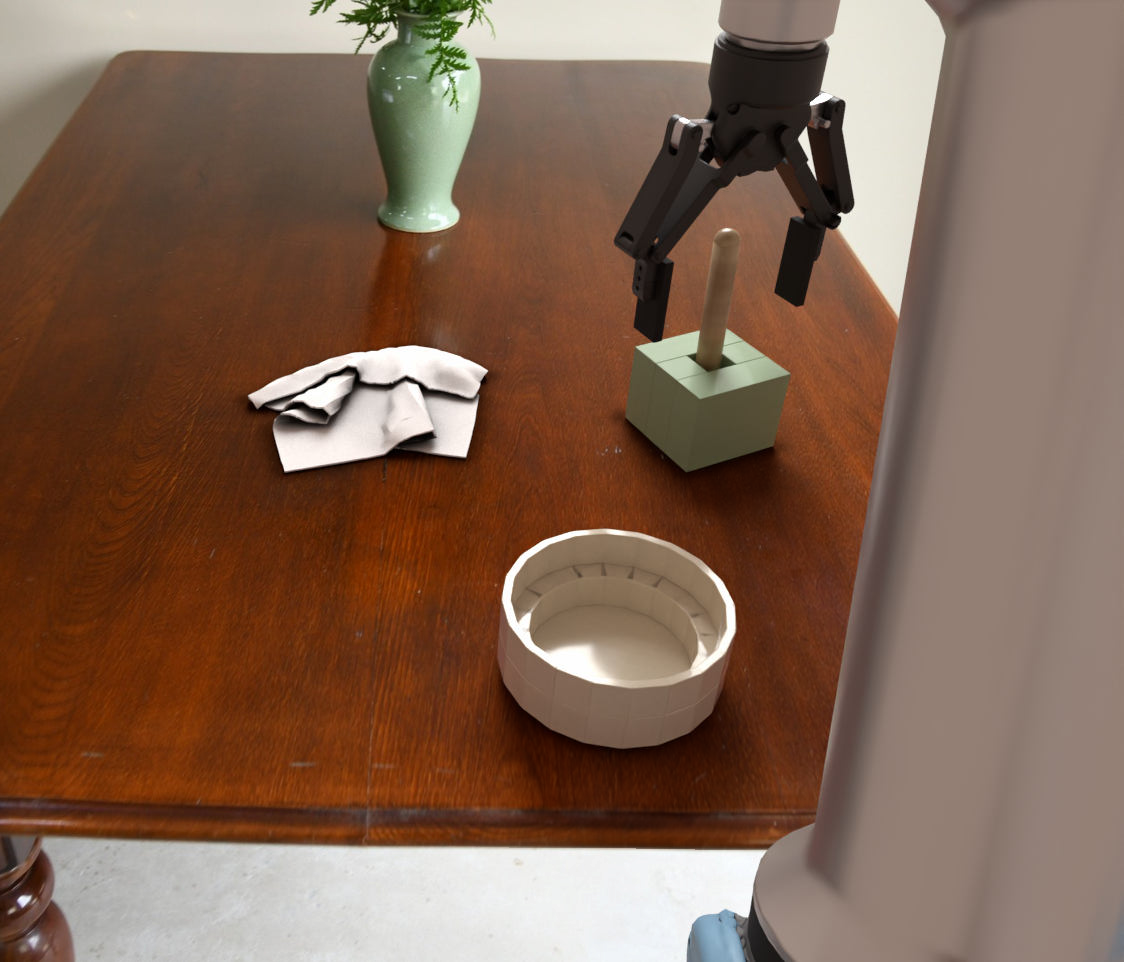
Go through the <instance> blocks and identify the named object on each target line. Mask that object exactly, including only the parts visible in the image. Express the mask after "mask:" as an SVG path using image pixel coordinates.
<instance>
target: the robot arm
mask: <svg viewBox="0 0 1124 962" xmlns="http://www.w3.org/2000/svg"><path fill="white" fill-rule="evenodd" d="M924 1H925V3H926V4H927V5H928V7H930V9H931V10H932V11H933V13H934V14H935V15H936V16H937V17H938V20H939V23H940V25H941V28H942V30H943V33H944V35H945V39H944V45H943V50H942V56H941V62H940V69H939V74H938V82H937V85H936V93H935V99H934V104H933V111H932V117H931V123H930V128H929V135H928V141H927V146H926V153H925V158H924V165H923V171H922V177H921V183H920V189H919V195H918V201H917V207H916V213H915V219H914V225H913V230H912V237H911V243H910V249H909V254H908V262H907V268H906V272H905V278H904V284H903V291H902V296H901V297H902V298H901V304H900V308H899V313H898V314H899V315H898V321H897V327H896V333H895V340H894V345H893V351H892V357H891V364H890V368H889V369H890V370H889V374H888V380H887V388H886V392H885V399H884V406H883V411H882V417H881V422H880V429H879V435H878V440H877V441H878V443H877V448H876V453H875V458H874V465H873V471H872V478H871V483H870V489H869V495H868V500H867V501H868V502H867V508H866V512H865V519H864V524H863V525H864V526H863V532H862V537H861V543H860V548H859V549H860V550H859V554H858V555H859V556H858V562H857V567H856V572H855V573H856V574H855V578H854V579H855V580H854V585H853V591H852V597H851V603H850V609H849V615H848V621H847V628H846V634H845V639H844V646H843V651H842V657H841V663H840V669H839V676H838V681H837V688H836V693H835V700H834V705H833V712H832V718H831V725H830V730H829V736H828V741H827V748H826V752H825V753H826V754H825V755H826V756H825V759H824V766H823V772H822V778H821V784H820V790H819V795H818V802H817V808H816V814H815V820H814V822H813V823H811V824H809V825H806V826H803V827H800V828H798V829H796V830H794V831H791V832H789V833H788V834H786V835H784V836H783V837H780V838H779V839H777V840H776V841H775V842H774V843H773V844H771V846H770V847H769V848H767V849H766V851H765V852H764V854H763V855H762V856H761V858H760V861H759V864H758V867H757V869H756V873H755V876H754V880H753V883H752V894H751V900H750V907H749V913H748V916H743V915H741V914H738V913H737V912H734V911H732V910H729V909H727V908H724V909H723V910H721V911H720V912H718V913H708V914H707V913H706V914H703V915H700V916H698V917H697V918H696V919H695V920H694V921H693V923H692V924H691V927H690V929H691V930H690V932H689V934H688V938H687V943H686V944H687V945H686V962H1124V0H924ZM840 5H841V0H721V1H720V7H719V13H718V20H717V23H718V25H719V28H720V29H721V30H722V31H721V32H720V33H719V34H718V35H717V36H716V37H715V38H714V43H713V49H712V55H711V61H710V68H709V72H708V78H707V79H708V80H707V86H708V90H709V95H710V105H709V108H708V110H707V112H706V115H705V116H704V118H696V119H688V118H686V117H684V116H683V115H681V114H677V113H676V114H673V115H671V117H670V118H669V119H668V121H667V123H666V128H665V129H666V130H665V132H664V137H663V141H662V145H661V149H660V151H659V152H658V154H657V156H656V157H655V159H654V162H653V163H652V165H651V167H650V169H649V171H648V173H647V175H646V176H645V179H644V181H643V182H642V185H641V186H640V188H639V189H638V192H637V194H636V196H635V198H634V199H633V202H632V203H631V206H630V208H629V209H628V211H627V213H626V215H625V217H624V219H623V220H622V222H621V224H620V227H619V228H618V230H617V232H616V234H615V236H614V237H613V244H614V247H616V248H617V249H619V250H620V251H622V252H623V253H624V254H626V255H627V256H629V257H630V258H631V259H633V260H635V262H634V269H633V277H632V282H631V283H632V285H631V289H632V290H631V291H632V294H633V295H634V296H635V297H637V298H636V305H635V313H634V319H633V326H632V327H633V328H634V329H635V330H636V331H638V333H640V334H641V335H643V336H644V337H645V338H647V339H648V340H649V341H650V342H651V343H652V342H653V343H656V342H660V341H662V340H663V337H664V329H665V323H666V318H667V313H668V312H667V311H668V304H669V299H670V291H671V288H672V287H671V286H672V279H673V273H674V266H675V261H673V259H670V258H669V257H668V256H669V254H670V253H671V252H672V250H673V249H674V248H675V247H676V245H677V244H678V242H679V241H680V240H681V239H682V238H683V236H684V235H685V234H686V233H687V231H688V230H689V229H690V227H691V226H692V225H693V224H694V222H695V221H696V220H697V218H698V217H699V216H700V215H701V213H702V212H703V211H704V210H705V209H706V207H707V206H708V205H709V203H710V202H711V201H712V200H713V198H714V197H715V196H716V194H717V193H718V192H719V191H720V190H722V189H724V188H727V187H729V186H730V184H732V183H733V181H734V179H736V177H738V178H742V177H747V176H750V175H752V174H754V173H756V172H763V173H768V172H772V171H775V170H776V172H777V173H778V176H779V177H780V179H781V180H782V182H783V184H784V186H785V187H786V189H787V191H788V193H789V194H790V196H791V198H792V200H793V201H794V203H795V205H796V207H797V209H798V210H799V212H800V214H802V215H803V217H801V216H799V215H795V216H791V217H790V218H789V222H788V227H787V231H786V236H785V240H784V245H783V249H782V255H781V259H780V263H779V267H778V272H777V277H776V282H775V287H774V291H773V293H774V294H775V295H776V296H778V297H780V298H781V299H783V300H784V301H786V302H787V303H789V304H790V305H792V306H793V307H795V308H798V307H803V306H804V305H805V302H806V297H807V293H808V288H809V285H810V280H811V276H812V272H813V268H814V264H815V262H817V261H818V259H819V258H820V256H821V252H822V249H823V248H822V247H823V243H824V240H825V235H826V231H827V229H828V230H830V231H831V230H832V231H834V230H836V229H837V228H839V226H840V225H841V222H842V216H841V215H840V214H841V213H842V214H843V215H848V214H850V213H851V212H852V211H853V209H854V207H855V203H856V201H855V196H854V191H853V184H852V177H851V173H850V167H849V161H848V155H847V147H846V143H845V135H844V131H843V125H844V119H845V113H846V107H847V105H846V101H845V100H844V99H842V98H840V97H838V96H835V95H832V94H830V93H828V92H826V91H823V90H822V86H823V82H824V77H825V72H826V68H827V63H828V58H829V54H830V46H829V44H828V42H827V41H826V40H828V38H829V37H831V36H832V35H834V33H835V29H836V23H837V19H838V14H839V8H840ZM805 130H806V133H807V137H808V139H807V140H808V143H809V149H810V153H811V158H812V164H813V170H814V173H813V171H812V170H811V168H810V165H809V164H808V162H809V157H808V156H807V153H806V152H805V149H804V148H803V146H802V144H801V142H800V140H799V138H800V137H801V135H802V133H804V131H805ZM713 160H714V162H715V163H716V164H717V166H718V167H715V166H713V165H712V164H710V163H711V162H712V161H713ZM814 174H815V175H814Z"/></svg>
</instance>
